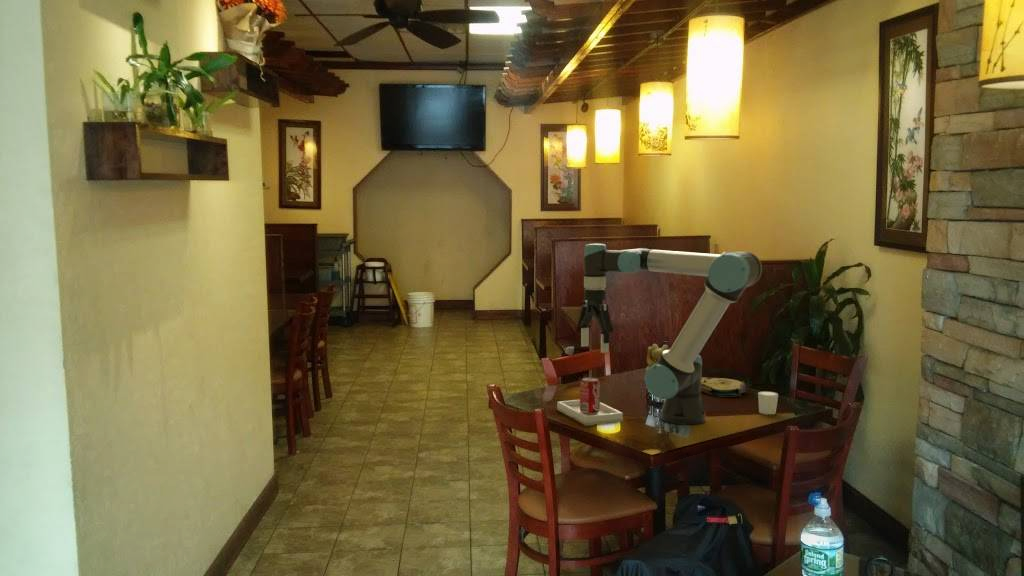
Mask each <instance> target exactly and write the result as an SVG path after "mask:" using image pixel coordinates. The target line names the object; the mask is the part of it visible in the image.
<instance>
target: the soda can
mask: <svg viewBox="0 0 1024 576" xmlns="http://www.w3.org/2000/svg"><path fill="white" fill-rule="evenodd" d="M579 400H580V411H581V412H582V413H583V414H587V415H594V414H596V413H598V412H599V409H600V402H601V383H600V381H599V378H597V377H589V376H588V377H582V378H581V381H580V383H579Z"/></svg>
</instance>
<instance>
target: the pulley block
mask: <svg viewBox="0 0 1024 576" xmlns="http://www.w3.org/2000/svg"><path fill="white" fill-rule="evenodd" d="M747 386H748V387H753V384H746V383H745V381H744V380H743V381H740V380H737V379H733V378H731V379H730V378H724V377H723V378H721V377H720V378H719V377H718V378H717V377H702V379H701V393H705V394H707V395H709V396H714V397H719V398H720V397H721V398H729V397H730V398H732V397H733V398H734V397H738V396H739V397H742V394H743V393H745V392H746V388H747Z"/></svg>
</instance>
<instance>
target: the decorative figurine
mask: <svg viewBox="0 0 1024 576" xmlns="http://www.w3.org/2000/svg"><path fill="white" fill-rule="evenodd" d="M668 347H669V346H668V345H667V344H663V346H662V347H659V346H658V344H657V343H654V344H653V343H652V346H648V347H647V355H646V363H647V366H646V368H645V373H646V372H647V370H648V369H649V368H650V367H651V366H652V365H655V364H656V362H657V361H658V359H659V358H660V356H661V354H662V353H663V351H665V350H669V349H668Z"/></svg>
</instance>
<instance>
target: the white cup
mask: <svg viewBox="0 0 1024 576" xmlns="http://www.w3.org/2000/svg"><path fill="white" fill-rule="evenodd" d="M757 397H758V413H759V414H761V415H768V414H769V415H771V414H772V415H775V414H776V413H777V412H776V411H777V407H778V399H779V394H778V392H774V391H767V390H765V391H758V392H757ZM769 415H768V416H769Z"/></svg>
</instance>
